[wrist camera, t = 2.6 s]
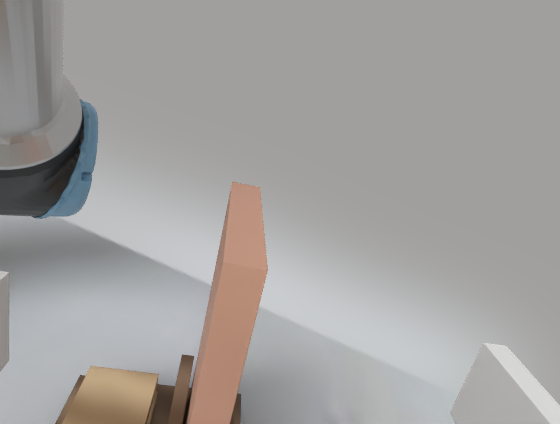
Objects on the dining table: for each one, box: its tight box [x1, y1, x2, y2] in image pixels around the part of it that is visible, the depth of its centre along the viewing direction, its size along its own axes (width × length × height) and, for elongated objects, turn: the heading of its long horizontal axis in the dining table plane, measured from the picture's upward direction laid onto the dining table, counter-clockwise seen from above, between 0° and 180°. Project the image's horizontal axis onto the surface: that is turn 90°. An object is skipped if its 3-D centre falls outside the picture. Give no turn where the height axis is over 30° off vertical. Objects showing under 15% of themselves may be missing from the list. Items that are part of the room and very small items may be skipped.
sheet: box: [185, 182, 268, 424], centre depth 27 cm, size 12×2×20 cm, turn 5°
